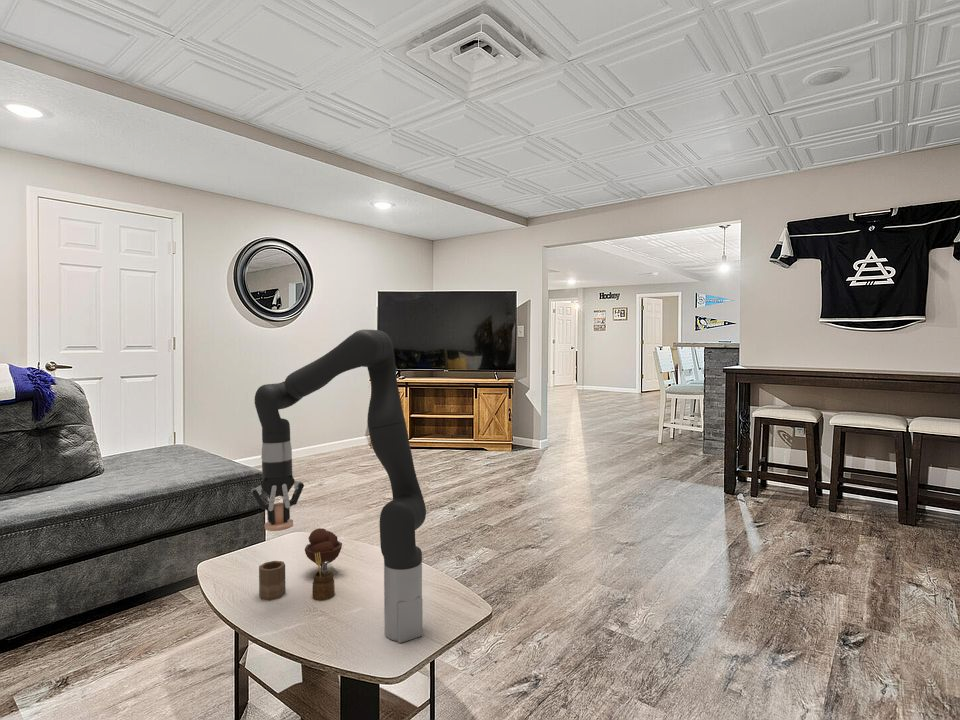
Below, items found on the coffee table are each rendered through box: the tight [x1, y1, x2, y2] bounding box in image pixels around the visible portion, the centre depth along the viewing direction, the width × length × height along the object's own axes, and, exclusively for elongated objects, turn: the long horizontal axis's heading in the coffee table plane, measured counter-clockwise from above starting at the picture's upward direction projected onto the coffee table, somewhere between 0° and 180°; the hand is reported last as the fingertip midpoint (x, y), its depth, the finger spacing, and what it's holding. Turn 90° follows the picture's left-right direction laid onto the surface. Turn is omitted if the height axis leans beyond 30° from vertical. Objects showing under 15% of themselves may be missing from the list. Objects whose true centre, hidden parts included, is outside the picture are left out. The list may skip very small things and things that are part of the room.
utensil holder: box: [311, 552, 336, 602], centre depth 149 cm, size 6×6×12 cm
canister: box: [258, 560, 286, 601], centre depth 150 cm, size 6×6×9 cm
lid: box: [263, 502, 294, 532], centre depth 143 cm, size 7×7×6 cm
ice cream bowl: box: [304, 527, 343, 571], centre depth 163 cm, size 11×11×15 cm
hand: (279, 522), depth 143 cm, fingers closed on lid, 2 cm apart
